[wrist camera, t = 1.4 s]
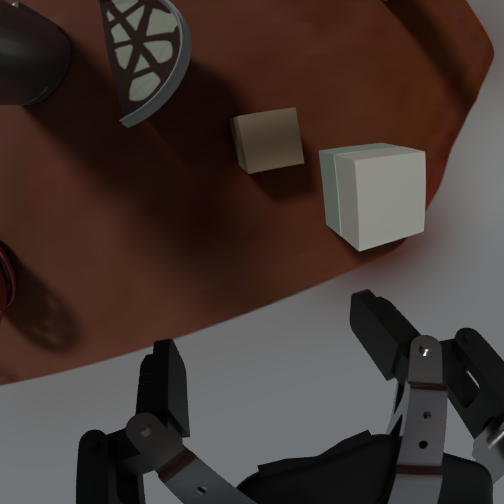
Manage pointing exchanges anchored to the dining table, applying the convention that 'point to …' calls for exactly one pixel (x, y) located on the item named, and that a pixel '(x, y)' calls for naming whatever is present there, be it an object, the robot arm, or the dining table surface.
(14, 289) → the plant pot
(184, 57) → the food container
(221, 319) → the dining table surface
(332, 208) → the tower base
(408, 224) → the tower top
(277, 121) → the walnut block
